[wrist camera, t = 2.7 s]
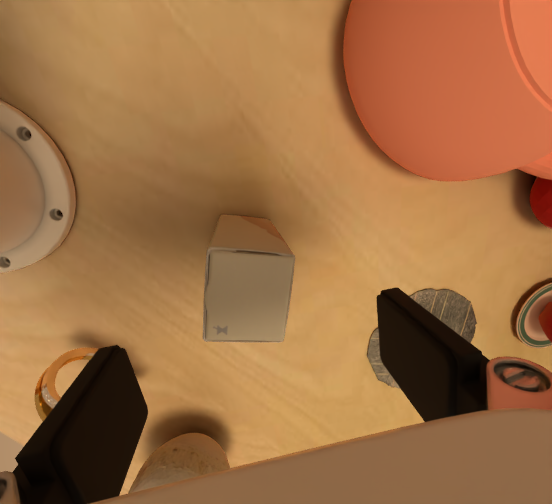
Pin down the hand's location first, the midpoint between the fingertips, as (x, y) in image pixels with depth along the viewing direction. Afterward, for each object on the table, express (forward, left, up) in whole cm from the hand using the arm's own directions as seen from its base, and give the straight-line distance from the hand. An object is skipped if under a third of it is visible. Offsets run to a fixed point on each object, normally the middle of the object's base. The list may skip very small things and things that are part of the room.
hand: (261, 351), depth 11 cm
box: (0, 0, -15) cm, 15 cm away
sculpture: (+14, +16, -15) cm, 26 cm away
